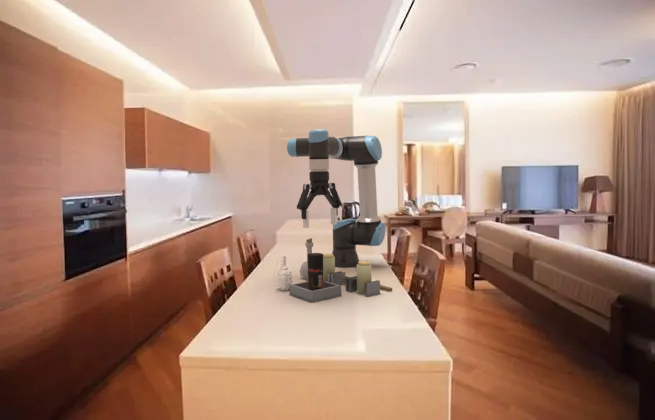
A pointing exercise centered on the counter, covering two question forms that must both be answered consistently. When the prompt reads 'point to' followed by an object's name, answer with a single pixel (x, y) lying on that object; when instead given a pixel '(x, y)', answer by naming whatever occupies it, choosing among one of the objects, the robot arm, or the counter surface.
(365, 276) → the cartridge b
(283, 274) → the hand grenade
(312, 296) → the tray
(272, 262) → the counter surface
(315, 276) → the deodorant
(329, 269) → the cartridge
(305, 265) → the potion bottle
